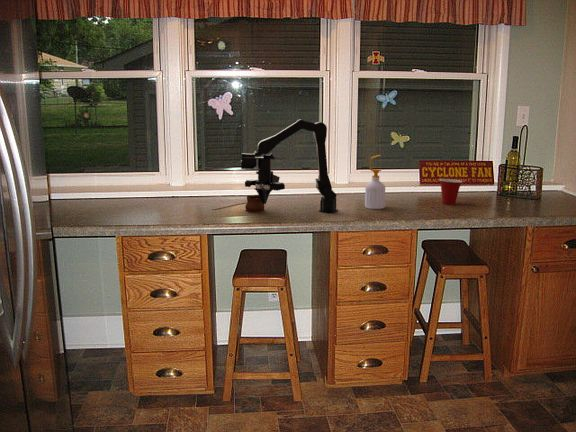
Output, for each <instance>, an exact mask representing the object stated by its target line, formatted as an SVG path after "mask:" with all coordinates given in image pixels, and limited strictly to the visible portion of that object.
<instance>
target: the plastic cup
mask: <svg viewBox="0 0 576 432" xmlns="http://www.w3.org/2000/svg"><path fill="white" fill-rule="evenodd" d="M439 182H440V189H441V191H440V192H441V199H442V204H443V205H449V206H453V205H456V202H457V198H458V195H459V191H460V187H461V185H462V183H463V180H459V179H452V178H439Z"/></svg>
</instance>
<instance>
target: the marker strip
mask: <svg viewBox="0 0 576 432" xmlns="http://www.w3.org/2000/svg"><path fill="white" fill-rule="evenodd" d="M246 203H247V201H242V202H237V203H234V204H229V205H223V206H218V207H215V208H212V209H211V210H213V211H216V210H220V209H225V208H230V207H233V206H235V207H236V206H238V205H243V204H246Z"/></svg>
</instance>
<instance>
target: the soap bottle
mask: <svg viewBox="0 0 576 432" xmlns="http://www.w3.org/2000/svg"><path fill="white" fill-rule="evenodd" d="M379 157H381V154H377V155H373V156H371V158H370V159H369V170H370V171H371V172H372V173H373V175H371V181H369V182H368V183H366V185H365V189H364V190H365V192H364V207H365V208H367V209H368V210H369V209H370V210H381V209H382V210H383V209H384V208H385V205H386V185H385V184H384V183H383V182H381V180H380V175H378V174H379V173H380V172H381V171H382V169H381V168H379V169H378V168H376V169H375V168H372V159H375V158H379Z"/></svg>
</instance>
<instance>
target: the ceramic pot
mask: <svg viewBox="0 0 576 432" xmlns="http://www.w3.org/2000/svg"><path fill="white" fill-rule="evenodd" d="M244 207H245V210H246V212H249V213H263V212H264V210H265V204H263V202H262V200H261V198H260V196H259V194H255V195H246V203H245V205H244ZM262 211H263V212H262Z"/></svg>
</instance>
